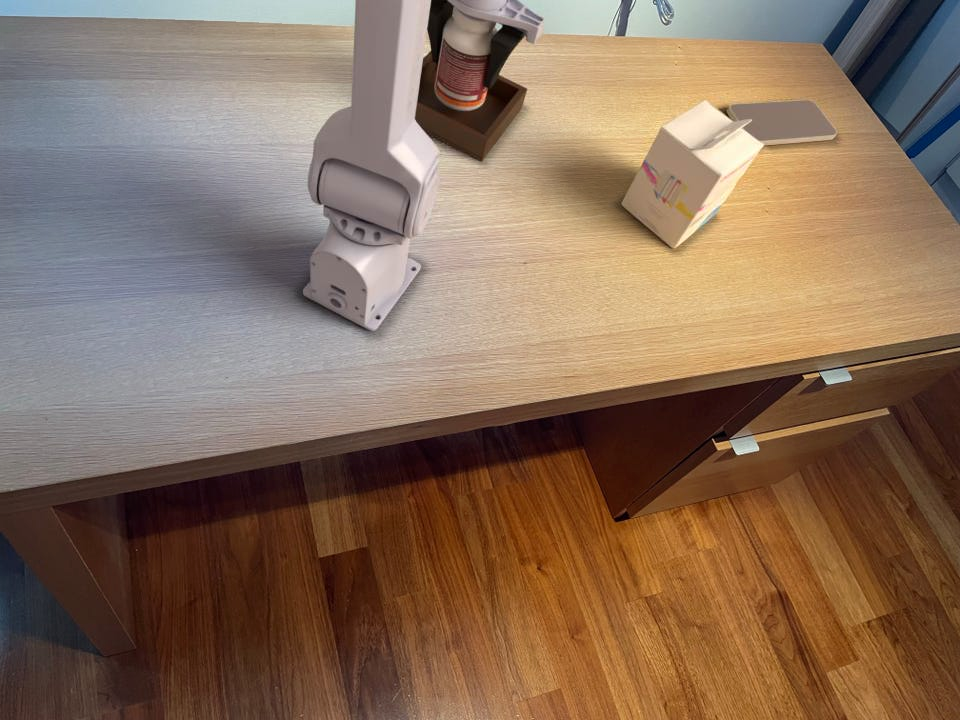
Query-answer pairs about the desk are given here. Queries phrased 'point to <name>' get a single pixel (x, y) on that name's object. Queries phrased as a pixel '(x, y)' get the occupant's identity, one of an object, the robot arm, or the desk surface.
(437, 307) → the desk surface
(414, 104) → the robot arm
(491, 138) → the tray
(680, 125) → the ink box
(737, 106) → the smartphone
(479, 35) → the pill bottle
